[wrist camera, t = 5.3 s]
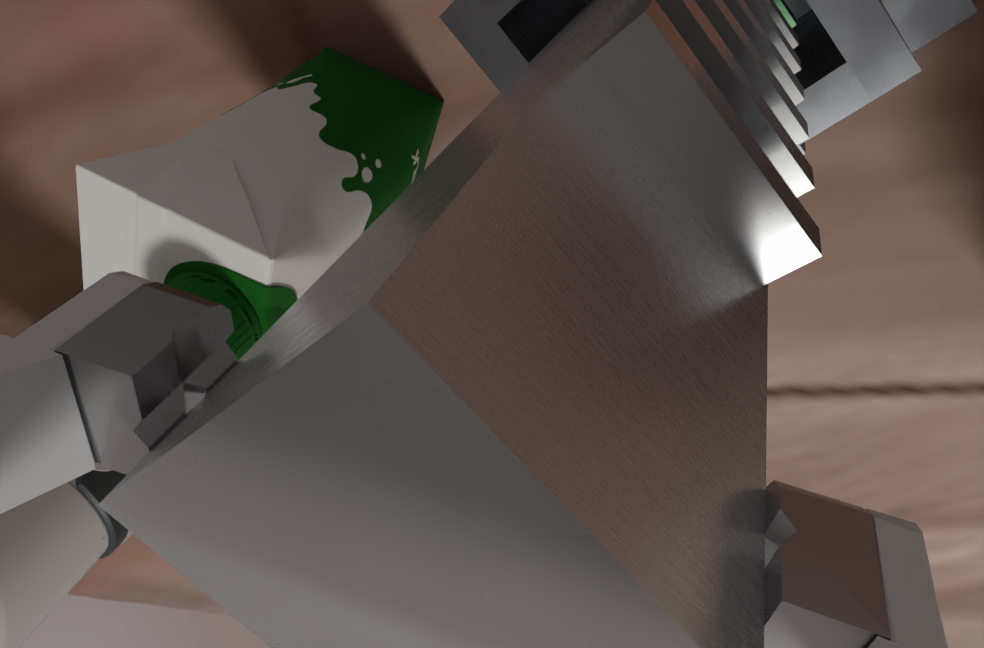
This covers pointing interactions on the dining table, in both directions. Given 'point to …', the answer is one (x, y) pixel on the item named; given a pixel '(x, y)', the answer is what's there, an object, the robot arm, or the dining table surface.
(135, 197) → the milk carton
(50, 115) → the dining table surface
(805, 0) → the stand
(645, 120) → the column
